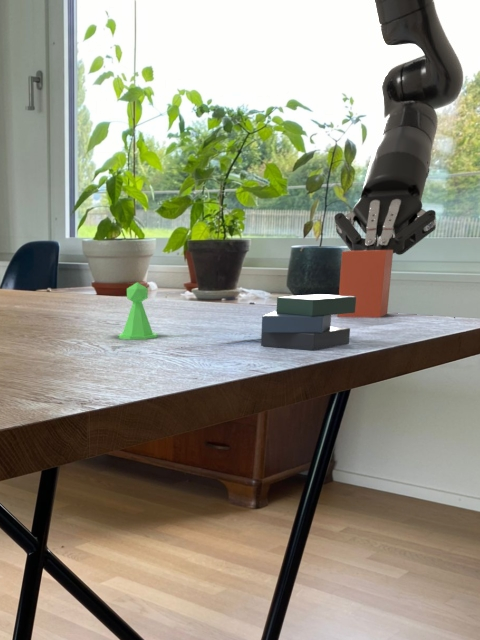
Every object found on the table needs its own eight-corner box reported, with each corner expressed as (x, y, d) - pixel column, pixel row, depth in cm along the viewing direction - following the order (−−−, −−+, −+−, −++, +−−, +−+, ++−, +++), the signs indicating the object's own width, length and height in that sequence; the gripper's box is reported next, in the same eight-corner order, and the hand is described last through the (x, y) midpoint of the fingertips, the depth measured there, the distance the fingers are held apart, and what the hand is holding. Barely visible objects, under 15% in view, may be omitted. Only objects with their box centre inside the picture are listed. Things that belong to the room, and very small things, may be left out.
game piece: (165, 342, 86) (165, 281, 84) (126, 345, 85) (126, 283, 82) (148, 338, 90) (148, 280, 88) (111, 341, 88) (110, 282, 86)
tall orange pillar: (346, 316, 105) (351, 250, 103) (387, 317, 103) (393, 249, 100) (336, 320, 101) (342, 251, 98) (379, 321, 99) (385, 250, 96)
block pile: (291, 338, 86) (293, 293, 84) (360, 343, 80) (364, 295, 79) (241, 346, 81) (243, 298, 79) (311, 353, 75) (314, 301, 74)
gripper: (343, 153, 109) (313, 254, 103) (451, 145, 103) (426, 252, 97) (348, 197, 115) (320, 295, 110) (451, 193, 109) (427, 296, 103)
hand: (370, 275), depth 103 cm, fingers closed
